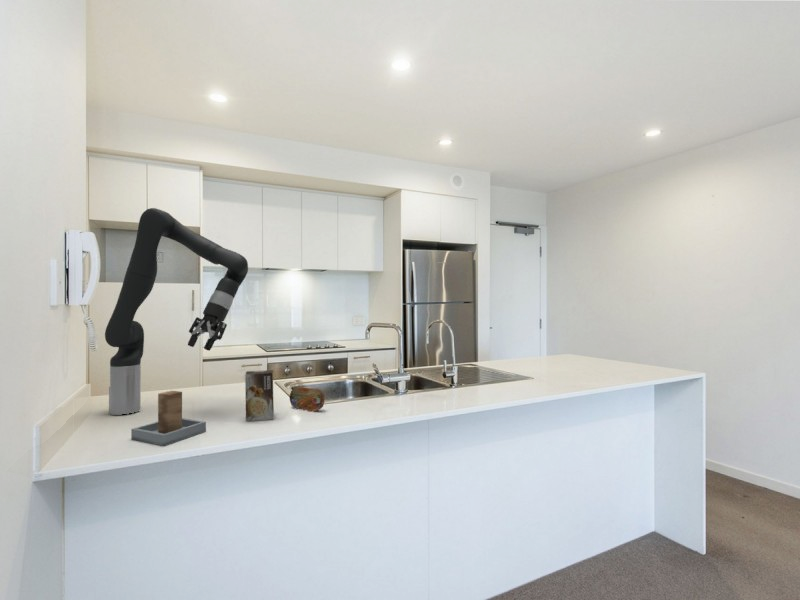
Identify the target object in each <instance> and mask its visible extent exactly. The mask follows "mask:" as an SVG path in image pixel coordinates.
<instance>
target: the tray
mask: <svg viewBox="0 0 800 600" xmlns="http://www.w3.org/2000/svg"><path fill="white" fill-rule="evenodd" d="M130 430H131V434H130V435H131V436H130V437H131V440H133V441H138V442H143V443H148V444H152V445H156V446H160V447H161V446H162V447H165V446H166V447H167V446H169V445H171V444H175V443H177V442H180V441H183V440H186V439H188V438H191V437H195V436H196V435H199V434H200V435H201V434H203V433H206V432H207V421H203V420H198V419H197V420H196V419H191V418H185V417H182V429H178V430H175V431H172V432H169V433H166V434H163V433H158V421H155V422H151V423H148V424H144V425H141V426H138V427H134V428H131V429H130Z"/></svg>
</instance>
